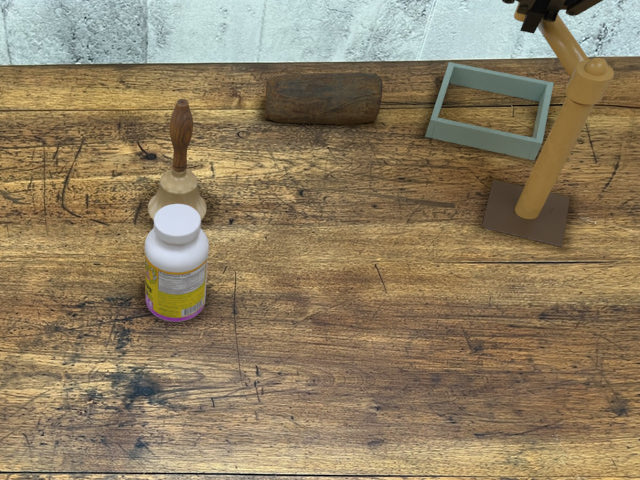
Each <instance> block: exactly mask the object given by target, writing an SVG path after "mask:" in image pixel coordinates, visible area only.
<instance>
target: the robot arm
mask: <svg viewBox="0 0 640 480" xmlns="http://www.w3.org/2000/svg"><path fill="white" fill-rule="evenodd" d="M501 1H502V2H503V3H504V4H506V5H513V4H514V3H515V2H518V3H519V6H518V8H517V7H516V8H517V13H519V14H524V15H526V16H525V19H524V21H523V22H522V24H521V27H520V30H519V32H524V33H530V34H535V32H536V31H537V29H538V25H539V23H540V22H541V20H542V18H543V20H545V21H548V22H554V21H555V20H556V18H557V15H559V12H560V11H565V14H566V15H568V16H571V17H576V16H579V15H580V14H582V13H584V12H586V11H587V10H589V9H591V8H593V7H594V6H596V5H598V4H599V3H601V2H603V1H604V0H501Z"/></svg>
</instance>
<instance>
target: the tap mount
mask: <svg viewBox="0 0 640 480" xmlns="http://www.w3.org/2000/svg"><path fill="white" fill-rule="evenodd" d="M594 106H595V104H592V105H585V104H580V103H577V102H574V101H572V100H571V99H569V98H568V97H567V96H566V97H565V99H564V100H563V103H562V106H561V107H560V110H559V112H558V114H557V116H556V118H555V121H554V123H553V124H552V127H551V129H550V131H549V133H548V136H547V137H546V139H545V142H544V144H543V146H542V147H541V150H540V152H539V155H538V157H537V159H536V160H535V163H534V166H533V167H532V170H531V172H530V173H529V176H528V178H527V180H526V183H525V185H524V186H523V185H519V184H514V183H510V182H505V181H501V180H496V179H492V180H491V185H490V190H489V193H488V194H489V195H488V199H487V202H486V206H485V209H484V210H485V211H484V214H483V219H482V223H481V229H484V230H489V231H491V232H497V233H500V234H505V235H508V236H513V237H516V238H521V239H525V240H529V241H533V242H538V243H542V244H546V245H550V246H553V247H558V248H563V246H564V240H565V233H566V226H567V220H568V213H569V207H570V206H569V205H570V201H571V197H570V196H567V195H562V194H558V193H553V192H552V190H553V188H554V186H555V184H556V182H557V180H558V178H559V177H560V174H561V173H562V170H563V168H564V166H565V164H566V162H567V161H568V159H569V156H570V154H571V152H572V150H573V148H574V146H575V144H576V142H577V140H578V139H579V136H580V135H581V132H582V130H583V128H584V126H585V124H586V122H587V120H588V118H589V117H590V115H591V112H592V110H593V108H594Z"/></svg>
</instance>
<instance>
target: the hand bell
mask: <svg viewBox="0 0 640 480" xmlns="http://www.w3.org/2000/svg"><path fill="white" fill-rule="evenodd" d="M193 132H194V118H193V113H192V110H191V108H190V104H189V100H188V99H186V98H179V99H178V100H176V103H175V106H174V108H173V111H172V113H171V117H170V120H169V137H170V138H169V139H170V142H171V145H172V149H173V154H172V164H171V168H170V169H168V170H165V172H163V173H162V175H160V178H159V183H158V188H157V192H156V194H155V195H153V196H152V197H151V199H150V200H149V201H148V204H147V212H148V215H149V216H150V218H151V219H152V220H153V221H154V217H155V214H156V213H157V212H158V211H159V210H160V209H161V208H163V207H165V206H167V205H171V204H184V205H188V206H190V207H192V208H194V209H195V210H196V211H197V212H198V213H199V215H200V218H201V220H203V219H204V217H205V215H206V214H207V204H206V201H205V199H204V198H203V197H202V196H201V194H200V192H199V191H200V190H199V184H198V182H199V181H198V177H197V176H196V174H195V173H194V172H193V171H191V170H189V169H188V149H189V146H190V144H191V140H192V138H193Z"/></svg>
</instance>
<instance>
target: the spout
mask: <svg viewBox="0 0 640 480" xmlns="http://www.w3.org/2000/svg"><path fill="white" fill-rule="evenodd" d="M518 6H519V2H518V3H517V6H516V9H515V11H514V13H513V18H514V20H516V21H518V22H522V23H523V21H524V19H525V16H526V15H524V14H519V13H517V8H518ZM537 29H538V30H539V32H540V33H541V34H542V36H543V38H544V39H545V41H546V42H547V44H548V46H549V47H550V48H551V50H552V51H553V53H554V55H555V56H556V58H557V59H558V61H559V62H560V64H561V65H562V67H563V68H564V70H565V71H566V73H567V75H568V76H569V78H570V79H569V81H568V82H567V85H566V87H565V91H564V93H565V95H566V97H568V98H569V99H571V100H572V101H574V102H577V103H580V104H585V105H592V104H594V105H596V104H599V103H600V102H601V101H602V100H603V97H604V96H605V94H606V92H607V90H608V88H609V86H610V84H611V83H612V80H613V78H614V75H615V71H614V69H613V68H612V66H610V65H608V62H607V60H606V59H604V58H603V57H594V58H591V59H590V58H589V56H587V54H586V53H585V51H584V49H583V48H582V47H581V45H580V44H579V42H578V41H577V40H576V38H575V37H574V35H573V34H572V32H571V30H570V29H569V28H568V27H567V25H566V24H565V22H564V21H563V19H562V18H561V17H560V15H559V14H558V15H557V18H556V20H555V21H554V22H548V21H545V20H543V18H542V20H541V22H540V23H539V25H538V27H537Z"/></svg>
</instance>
